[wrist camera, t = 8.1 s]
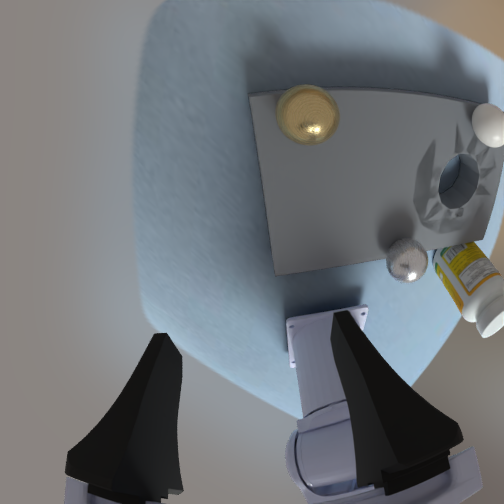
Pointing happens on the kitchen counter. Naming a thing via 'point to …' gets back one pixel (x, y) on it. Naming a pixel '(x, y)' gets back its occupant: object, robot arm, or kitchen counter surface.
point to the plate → (373, 178)
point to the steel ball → (407, 260)
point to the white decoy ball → (489, 124)
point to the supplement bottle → (472, 285)
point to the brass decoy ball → (307, 114)
